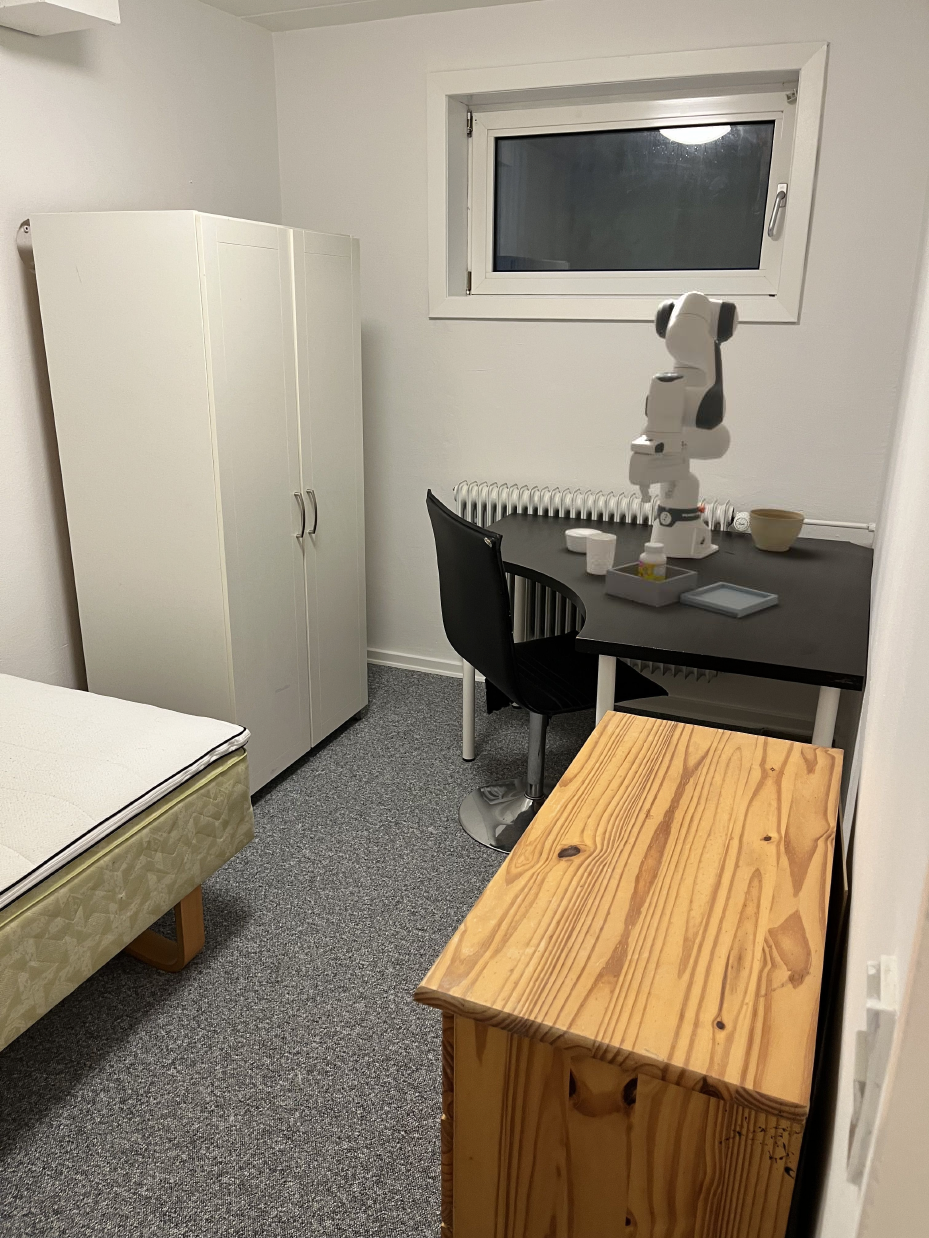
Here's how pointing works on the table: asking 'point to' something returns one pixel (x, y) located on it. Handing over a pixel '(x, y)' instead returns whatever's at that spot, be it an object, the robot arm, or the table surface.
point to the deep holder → (649, 584)
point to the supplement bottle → (652, 562)
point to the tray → (729, 599)
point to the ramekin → (578, 539)
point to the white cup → (600, 552)
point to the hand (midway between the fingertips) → (657, 500)
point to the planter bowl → (775, 528)
